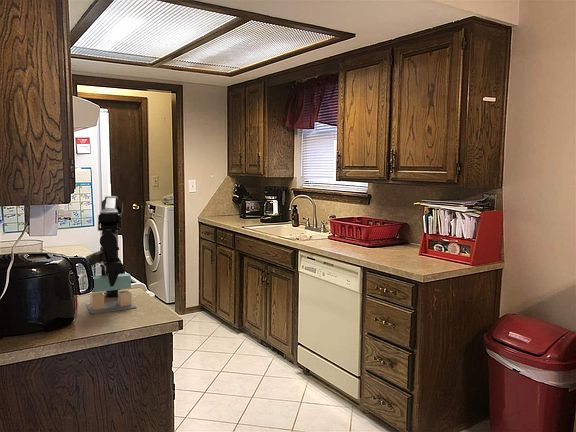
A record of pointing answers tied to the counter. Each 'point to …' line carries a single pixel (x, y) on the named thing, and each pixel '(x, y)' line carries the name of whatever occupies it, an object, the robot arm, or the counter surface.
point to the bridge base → (101, 306)
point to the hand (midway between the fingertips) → (110, 285)
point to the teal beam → (104, 285)
